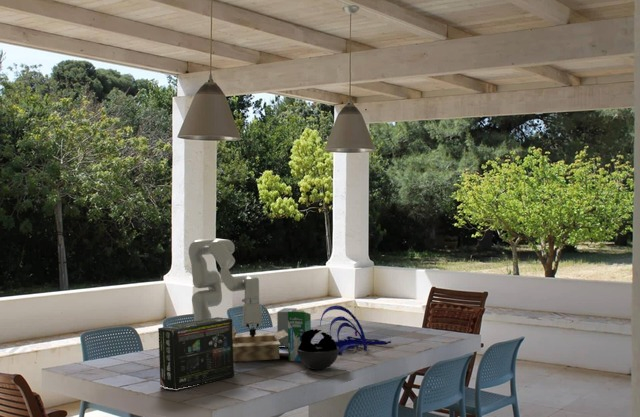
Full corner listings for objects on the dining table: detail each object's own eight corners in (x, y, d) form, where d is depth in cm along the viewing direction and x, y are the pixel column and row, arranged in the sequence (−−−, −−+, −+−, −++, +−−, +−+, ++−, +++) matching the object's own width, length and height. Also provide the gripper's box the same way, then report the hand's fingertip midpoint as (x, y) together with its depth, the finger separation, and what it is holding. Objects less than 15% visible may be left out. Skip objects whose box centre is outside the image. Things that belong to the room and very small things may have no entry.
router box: (219, 373, 352) (217, 316, 352) (235, 376, 345) (234, 318, 345) (157, 388, 325) (156, 327, 324) (173, 392, 318) (172, 329, 317)
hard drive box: (290, 348, 408) (290, 311, 407) (277, 348, 409) (276, 311, 409) (297, 343, 423) (296, 307, 423) (284, 342, 424) (283, 307, 424)
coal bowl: (298, 364, 366) (298, 326, 366) (339, 364, 366) (338, 325, 366) (296, 374, 346) (295, 333, 346) (339, 373, 346) (338, 333, 346)
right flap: (278, 339, 381) (288, 334, 382) (274, 333, 398) (283, 329, 399) (278, 340, 381) (288, 336, 382) (274, 334, 398) (284, 330, 399)
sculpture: (392, 346, 406) (387, 299, 405) (350, 362, 382) (345, 312, 380) (344, 340, 431) (340, 295, 429) (302, 355, 406) (297, 308, 404)
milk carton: (311, 358, 382) (310, 309, 381) (305, 361, 373) (304, 311, 373) (294, 357, 385) (294, 308, 384) (288, 360, 376) (287, 311, 376)
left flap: (231, 342, 377) (235, 331, 377) (229, 336, 393) (233, 326, 394) (232, 342, 377) (236, 331, 377) (230, 336, 393) (234, 326, 394)
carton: (233, 364, 369) (232, 346, 369) (228, 351, 401) (228, 335, 401) (281, 361, 374) (281, 343, 374) (273, 349, 406) (273, 332, 406)
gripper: (238, 302, 382) (238, 338, 382) (267, 301, 385) (267, 337, 385) (237, 300, 389) (237, 336, 390) (265, 299, 392) (266, 334, 392)
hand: (252, 336), depth 387 cm, fingers closed
